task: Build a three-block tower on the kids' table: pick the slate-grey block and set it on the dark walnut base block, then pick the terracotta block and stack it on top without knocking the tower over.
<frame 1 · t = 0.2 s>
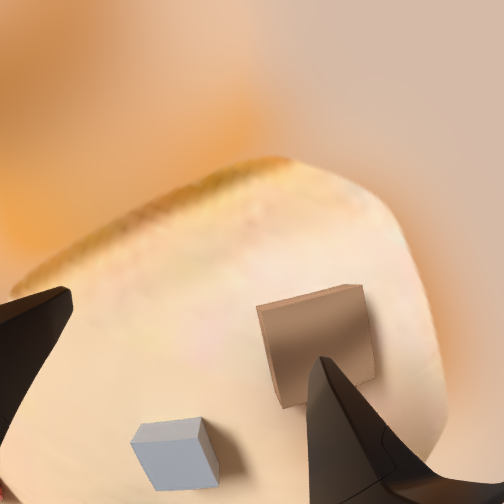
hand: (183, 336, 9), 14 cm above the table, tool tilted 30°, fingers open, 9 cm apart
walnut base: (309, 338, 24), on the table
grey block: (180, 444, 21), on the table
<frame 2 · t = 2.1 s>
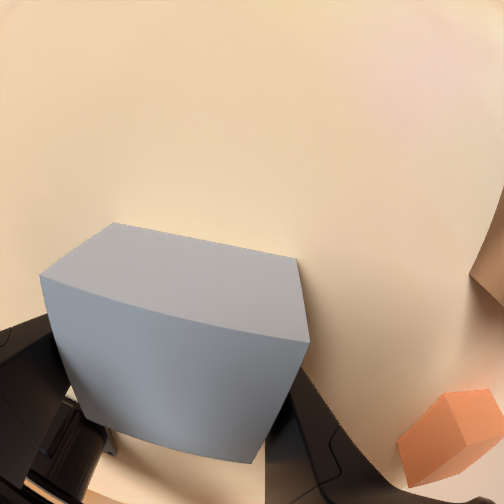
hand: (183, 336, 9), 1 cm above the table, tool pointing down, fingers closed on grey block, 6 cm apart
grey block: (192, 314, 10), on the table, touching gripper
terracotta block: (444, 415, 12), on the table
when the fingers open (6 cm above the table, at t = 6.1 s): grey block drops 2 cm, resting on walnut base.
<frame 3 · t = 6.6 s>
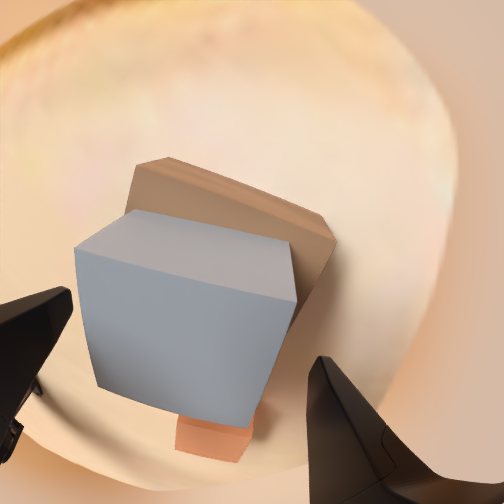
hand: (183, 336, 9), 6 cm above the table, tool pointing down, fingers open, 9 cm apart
walnut base: (219, 253, 15), on the table, touching grey block
grey block: (198, 292, 11), point 4 cm above the table, touching walnut base
terracotta block: (217, 405, 20), on the table
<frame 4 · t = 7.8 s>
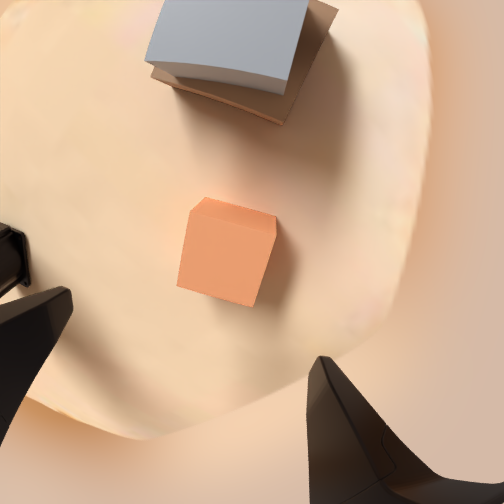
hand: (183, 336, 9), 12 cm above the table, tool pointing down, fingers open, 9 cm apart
walnut base: (249, 53, 15), on the table, touching grey block
grey block: (240, 36, 12), point 4 cm above the table, touching walnut base
terracotta block: (232, 238, 20), on the table
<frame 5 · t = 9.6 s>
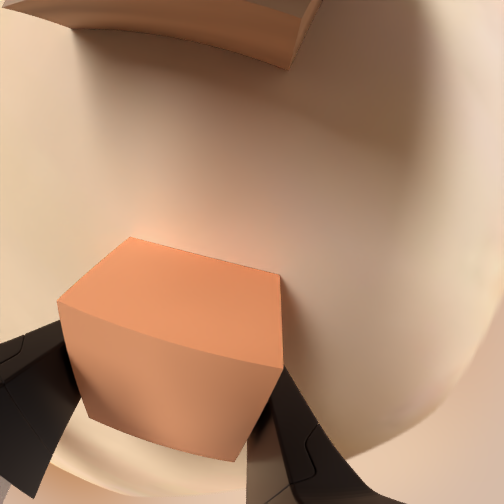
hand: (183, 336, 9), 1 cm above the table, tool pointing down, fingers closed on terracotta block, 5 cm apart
terracotta block: (191, 317, 10), on the table, touching gripper
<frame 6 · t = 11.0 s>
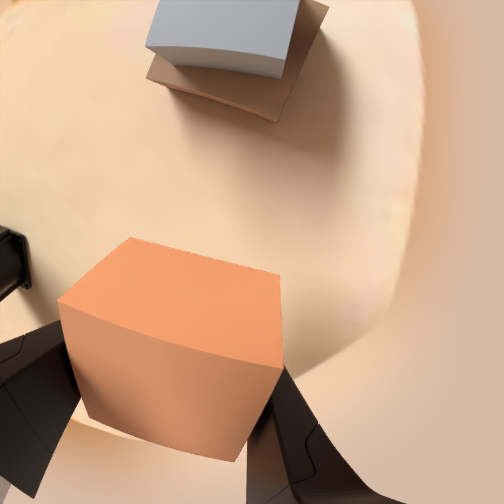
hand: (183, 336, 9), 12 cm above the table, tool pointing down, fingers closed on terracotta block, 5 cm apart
walnut base: (242, 53, 15), on the table
grey block: (237, 24, 11), point 4 cm above the table
terracotta block: (191, 318, 10), point 11 cm above the table, touching gripper
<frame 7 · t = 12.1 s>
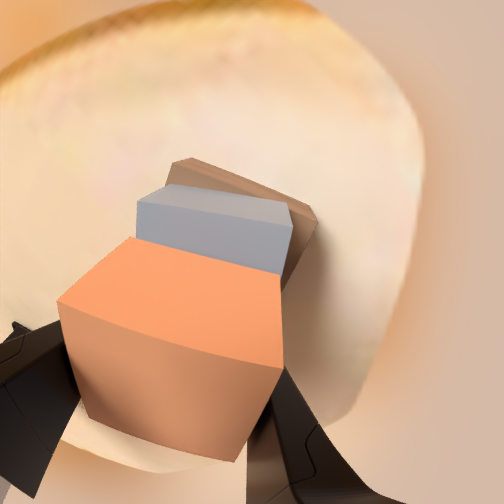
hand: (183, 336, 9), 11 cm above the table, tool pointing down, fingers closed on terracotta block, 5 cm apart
walnut base: (228, 234, 19), on the table, touching grey block
grey block: (219, 247, 15), point 4 cm above the table, touching walnut base
terracotta block: (191, 317, 10), point 10 cm above the table, touching gripper
when the fingers open (10 cm above the table, at t = 12.4 s): terracotta block drops 2 cm, resting on grey block.
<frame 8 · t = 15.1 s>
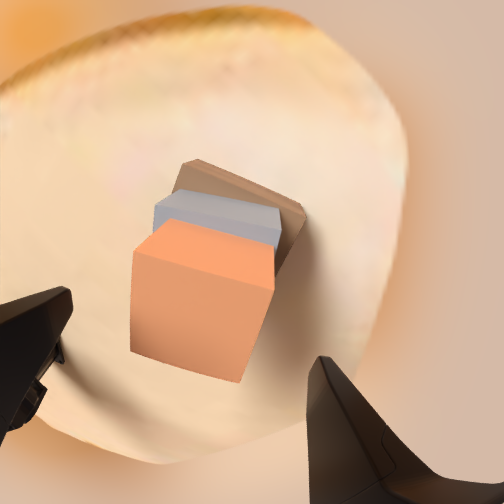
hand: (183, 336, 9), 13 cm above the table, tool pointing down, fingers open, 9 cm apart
walnut base: (228, 228, 21), on the table, touching grey block
grey block: (220, 244, 17), point 4 cm above the table, touching terracotta block, walnut base
terracotta block: (210, 277, 14), point 8 cm above the table, touching grey block
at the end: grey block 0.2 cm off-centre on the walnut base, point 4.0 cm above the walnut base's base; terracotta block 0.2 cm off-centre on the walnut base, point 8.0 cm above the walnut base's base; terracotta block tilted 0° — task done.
